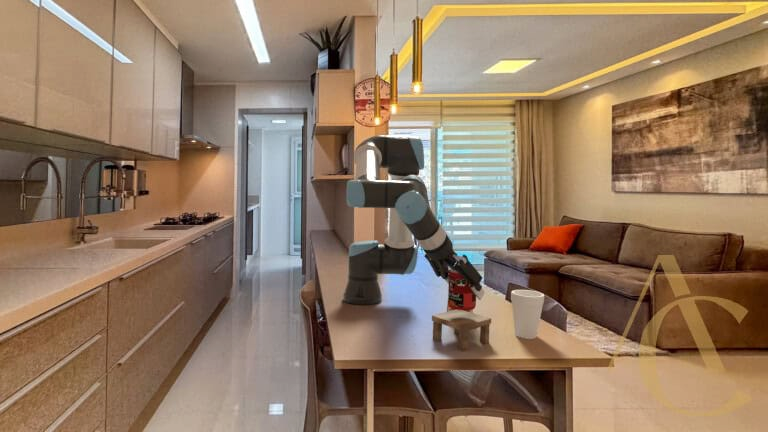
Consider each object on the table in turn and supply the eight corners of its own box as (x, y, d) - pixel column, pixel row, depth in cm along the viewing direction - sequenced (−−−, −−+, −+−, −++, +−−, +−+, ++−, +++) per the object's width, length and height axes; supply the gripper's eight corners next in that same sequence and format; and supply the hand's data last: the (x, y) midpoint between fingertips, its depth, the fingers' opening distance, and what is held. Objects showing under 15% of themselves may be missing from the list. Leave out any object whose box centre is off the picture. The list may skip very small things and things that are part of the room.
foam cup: (506, 329, 131) (508, 289, 130) (535, 330, 131) (537, 290, 130) (514, 340, 122) (516, 296, 121) (546, 341, 121) (548, 297, 121)
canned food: (442, 304, 121) (444, 267, 121) (465, 302, 124) (467, 266, 124) (457, 311, 114) (458, 272, 114) (481, 309, 117) (482, 270, 117)
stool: (431, 339, 121) (432, 315, 120) (457, 331, 128) (458, 308, 128) (464, 351, 112) (465, 326, 111) (490, 342, 119) (491, 318, 119)
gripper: (400, 247, 116) (437, 296, 128) (458, 256, 101) (494, 311, 112) (414, 227, 120) (448, 277, 131) (472, 234, 104) (505, 289, 115)
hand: (469, 293), depth 121 cm, fingers closed on canned food, 8 cm apart
